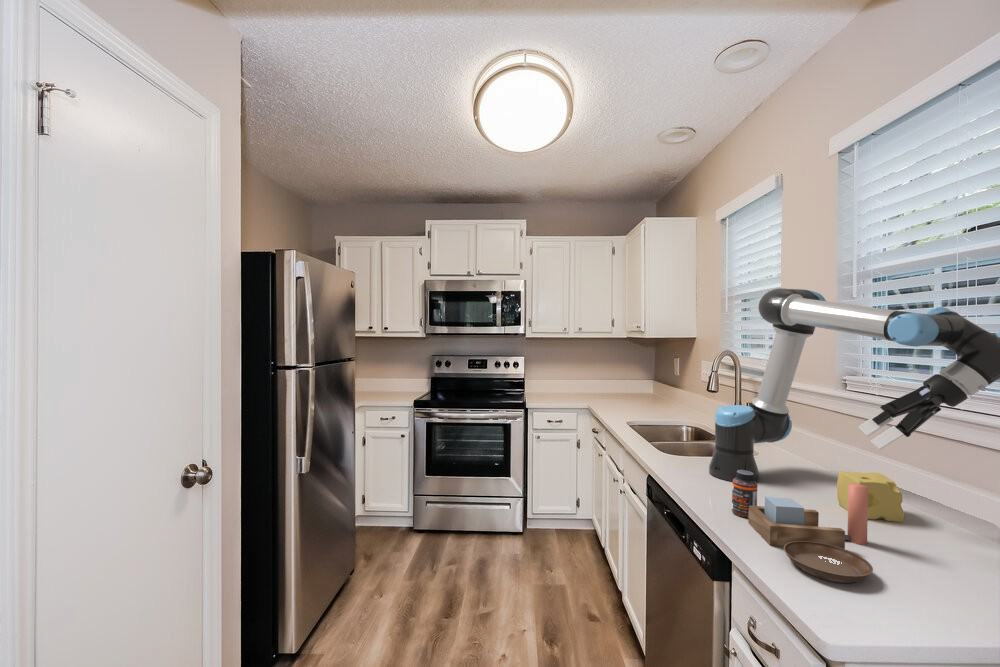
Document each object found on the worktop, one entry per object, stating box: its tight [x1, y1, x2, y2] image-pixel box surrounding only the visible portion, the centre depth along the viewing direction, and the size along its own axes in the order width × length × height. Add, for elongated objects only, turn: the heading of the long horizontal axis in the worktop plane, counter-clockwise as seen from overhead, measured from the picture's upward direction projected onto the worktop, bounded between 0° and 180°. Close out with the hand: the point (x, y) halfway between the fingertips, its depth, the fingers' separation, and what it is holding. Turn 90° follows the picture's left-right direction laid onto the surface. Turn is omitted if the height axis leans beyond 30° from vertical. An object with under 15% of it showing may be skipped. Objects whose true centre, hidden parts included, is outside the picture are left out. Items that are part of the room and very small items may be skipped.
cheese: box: [836, 470, 905, 523], centre depth 121 cm, size 10×11×10 cm
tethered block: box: [764, 483, 869, 546], centre depth 105 cm, size 21×6×13 cm, turn 82°
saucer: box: [783, 541, 874, 584], centre depth 92 cm, size 15×15×3 cm
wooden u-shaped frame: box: [747, 505, 846, 550], centre depth 106 cm, size 16×12×4 cm
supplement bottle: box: [731, 470, 758, 519], centre depth 119 cm, size 6×6×11 cm
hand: (868, 438), depth 112 cm, fingers open, 13 cm apart
